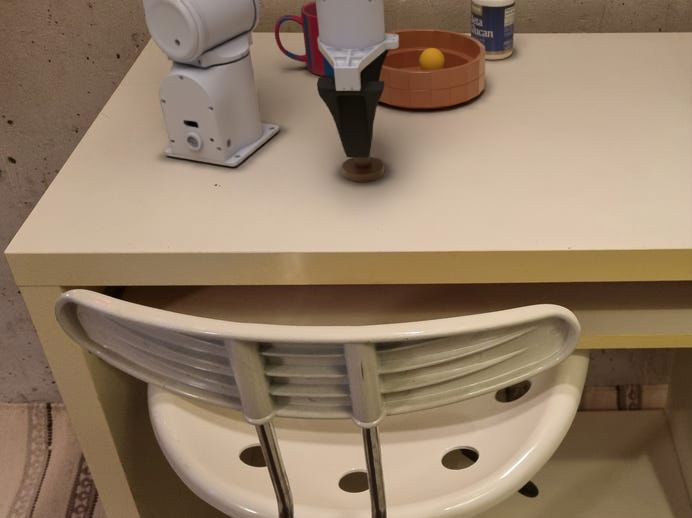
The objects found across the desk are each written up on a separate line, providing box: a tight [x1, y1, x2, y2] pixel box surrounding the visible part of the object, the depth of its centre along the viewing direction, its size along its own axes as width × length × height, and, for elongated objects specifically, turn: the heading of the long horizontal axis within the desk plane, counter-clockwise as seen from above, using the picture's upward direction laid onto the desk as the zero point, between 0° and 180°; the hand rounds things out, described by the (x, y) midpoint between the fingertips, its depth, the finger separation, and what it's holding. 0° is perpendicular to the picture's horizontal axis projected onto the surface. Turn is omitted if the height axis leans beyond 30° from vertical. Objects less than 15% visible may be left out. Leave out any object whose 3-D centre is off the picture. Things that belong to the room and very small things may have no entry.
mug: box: [274, 1, 335, 77], centre depth 101 cm, size 7×10×7 cm
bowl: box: [379, 28, 486, 110], centre depth 97 cm, size 14×14×4 cm
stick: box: [341, 80, 385, 183], centre depth 79 cm, size 4×4×9 cm
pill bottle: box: [470, 0, 516, 61], centre depth 104 cm, size 5×5×10 cm
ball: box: [419, 48, 445, 71], centre depth 99 cm, size 3×3×3 cm
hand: (360, 137), depth 80 cm, fingers open, 7 cm apart
